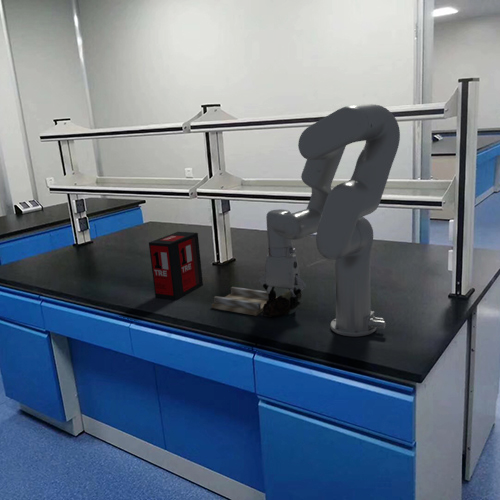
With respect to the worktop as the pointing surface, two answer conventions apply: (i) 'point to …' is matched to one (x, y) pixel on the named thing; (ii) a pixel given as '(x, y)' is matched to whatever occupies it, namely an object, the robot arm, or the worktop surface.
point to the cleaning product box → (176, 265)
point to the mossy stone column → (278, 305)
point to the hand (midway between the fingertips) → (283, 305)
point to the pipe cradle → (242, 301)
